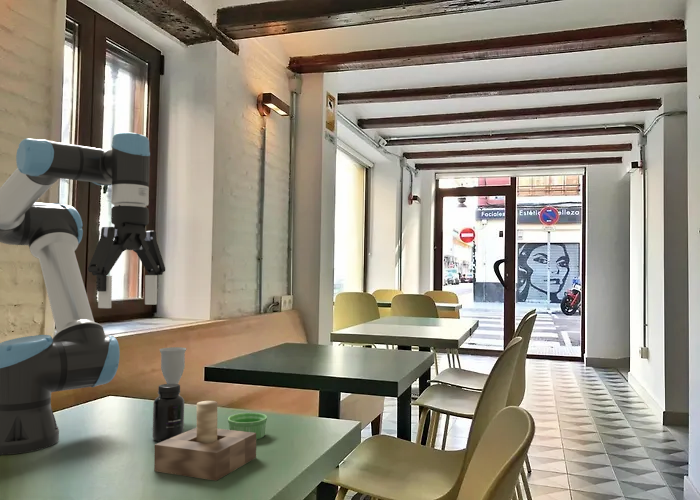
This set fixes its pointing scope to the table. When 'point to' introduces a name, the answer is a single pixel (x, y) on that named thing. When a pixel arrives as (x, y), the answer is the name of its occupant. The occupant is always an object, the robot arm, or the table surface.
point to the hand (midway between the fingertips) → (129, 306)
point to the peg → (207, 422)
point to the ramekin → (248, 423)
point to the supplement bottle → (168, 412)
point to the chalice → (172, 364)
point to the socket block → (205, 454)
